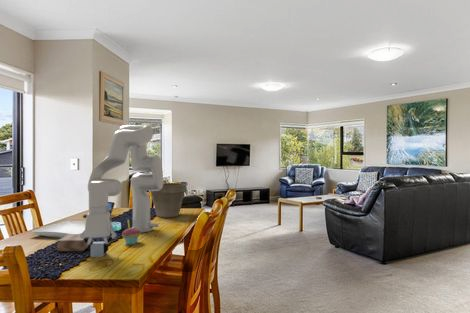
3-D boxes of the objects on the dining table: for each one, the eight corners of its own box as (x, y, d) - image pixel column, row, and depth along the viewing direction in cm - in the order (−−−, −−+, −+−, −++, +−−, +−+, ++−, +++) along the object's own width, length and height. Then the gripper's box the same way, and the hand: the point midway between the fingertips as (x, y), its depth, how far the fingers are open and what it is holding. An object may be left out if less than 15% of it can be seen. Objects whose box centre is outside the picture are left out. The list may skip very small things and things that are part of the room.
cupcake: (130, 246, 152) (130, 220, 152) (117, 243, 156) (118, 218, 156) (144, 242, 159) (144, 217, 159) (132, 239, 164) (132, 215, 163)
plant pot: (157, 211, 238) (157, 181, 238) (190, 212, 235) (190, 182, 235) (143, 218, 214) (143, 185, 213) (179, 220, 210) (179, 186, 210)
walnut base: (92, 244, 156) (92, 234, 156) (83, 251, 145) (83, 240, 145) (68, 244, 155) (68, 234, 155) (57, 251, 144) (57, 240, 144)
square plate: (77, 241, 161) (77, 233, 161) (30, 238, 166) (30, 230, 166) (109, 228, 187) (109, 222, 187) (67, 226, 193) (67, 219, 193)
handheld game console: (82, 217, 216) (82, 203, 216) (95, 214, 229) (95, 200, 229) (102, 219, 212) (102, 205, 212) (115, 215, 225) (115, 202, 225)
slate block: (105, 252, 142) (105, 241, 142) (103, 256, 137) (103, 244, 137) (93, 253, 141) (93, 241, 141) (90, 257, 136) (90, 245, 136)
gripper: (121, 208, 144) (120, 249, 144) (79, 209, 141) (79, 251, 141) (117, 211, 137) (117, 254, 137) (74, 212, 134) (74, 256, 134)
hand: (98, 252), depth 139 cm, fingers closed on slate block, 5 cm apart
